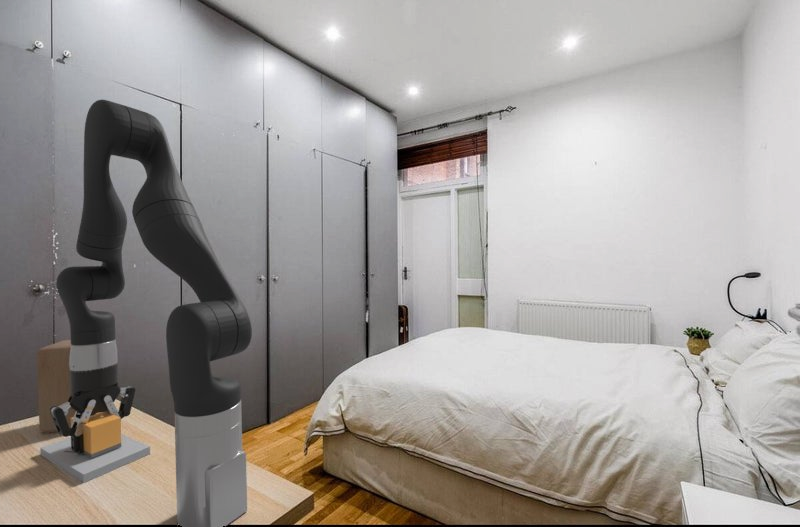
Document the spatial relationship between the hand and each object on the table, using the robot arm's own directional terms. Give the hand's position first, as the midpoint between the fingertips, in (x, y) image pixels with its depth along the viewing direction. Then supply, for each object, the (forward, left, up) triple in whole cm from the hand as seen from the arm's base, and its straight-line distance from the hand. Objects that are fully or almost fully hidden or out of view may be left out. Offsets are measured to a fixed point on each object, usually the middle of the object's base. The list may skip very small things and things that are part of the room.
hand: (96, 445), depth 75 cm
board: (+1, 0, -2) cm, 2 cm away
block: (+23, -4, -2) cm, 23 cm away
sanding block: (0, 0, 0) cm, 0 cm away
